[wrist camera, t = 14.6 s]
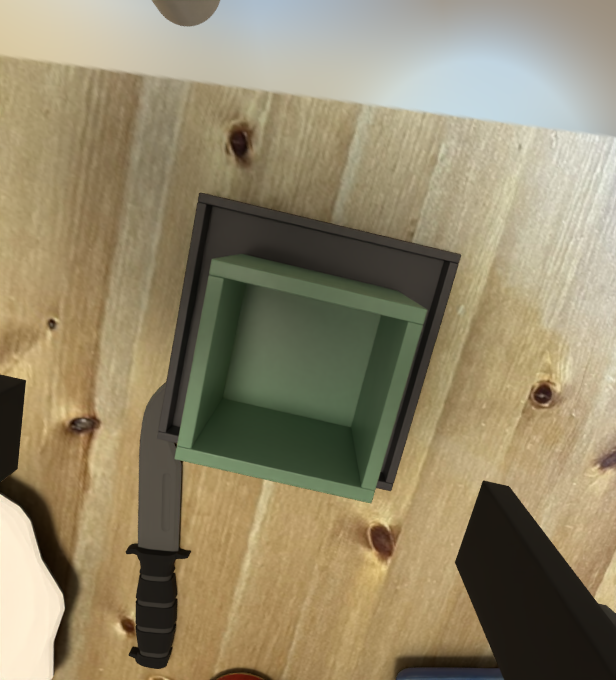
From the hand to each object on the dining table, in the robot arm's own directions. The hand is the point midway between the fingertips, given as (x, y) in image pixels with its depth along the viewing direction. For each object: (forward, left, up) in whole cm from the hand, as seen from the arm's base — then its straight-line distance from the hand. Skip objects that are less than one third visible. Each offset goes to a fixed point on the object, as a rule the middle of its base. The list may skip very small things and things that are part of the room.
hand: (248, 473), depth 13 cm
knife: (+17, -7, -21) cm, 28 cm away
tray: (+1, +1, -21) cm, 21 cm away
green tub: (+1, +1, -20) cm, 20 cm away
